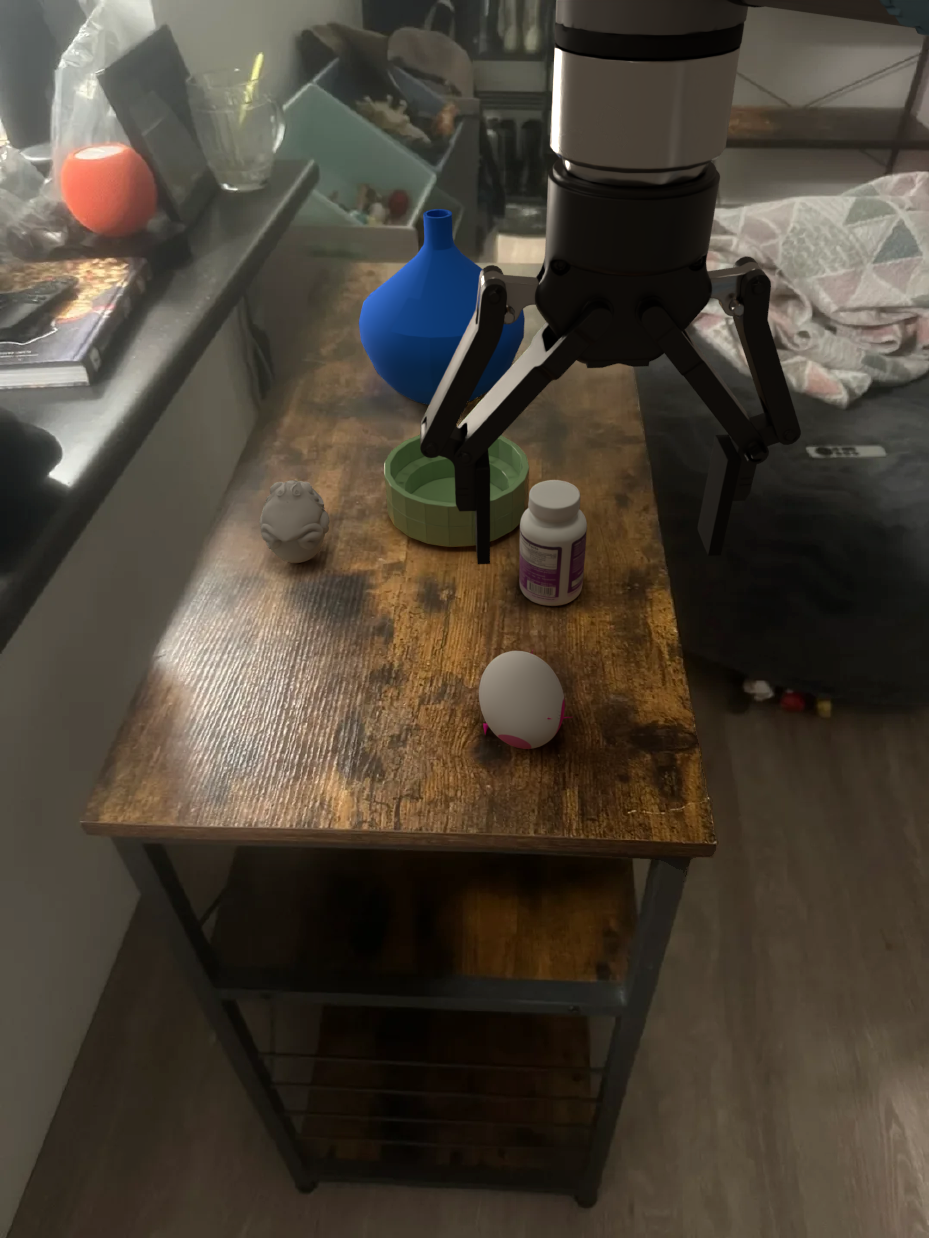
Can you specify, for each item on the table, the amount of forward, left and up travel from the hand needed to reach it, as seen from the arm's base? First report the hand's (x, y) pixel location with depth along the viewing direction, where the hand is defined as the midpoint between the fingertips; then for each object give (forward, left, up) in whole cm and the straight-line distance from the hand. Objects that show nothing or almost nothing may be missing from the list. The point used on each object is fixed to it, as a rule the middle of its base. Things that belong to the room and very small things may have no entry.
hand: (595, 546), depth 53 cm
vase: (+23, -48, -16) cm, 56 cm away
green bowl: (+15, -24, -16) cm, 33 cm away
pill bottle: (+5, -15, -16) cm, 22 cm away
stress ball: (+3, +1, -16) cm, 17 cm away
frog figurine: (+27, -14, -16) cm, 35 cm away
